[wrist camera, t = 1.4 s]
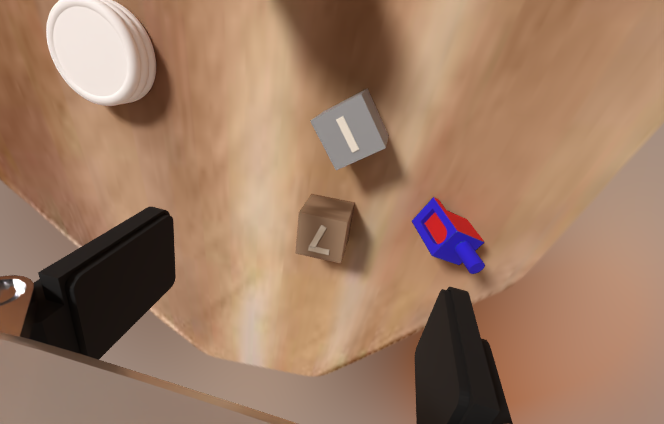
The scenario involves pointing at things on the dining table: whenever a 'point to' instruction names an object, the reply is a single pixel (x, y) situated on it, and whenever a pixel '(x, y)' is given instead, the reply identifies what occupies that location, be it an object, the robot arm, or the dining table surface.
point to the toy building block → (449, 236)
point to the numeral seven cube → (324, 228)
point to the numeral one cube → (351, 130)
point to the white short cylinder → (101, 51)
